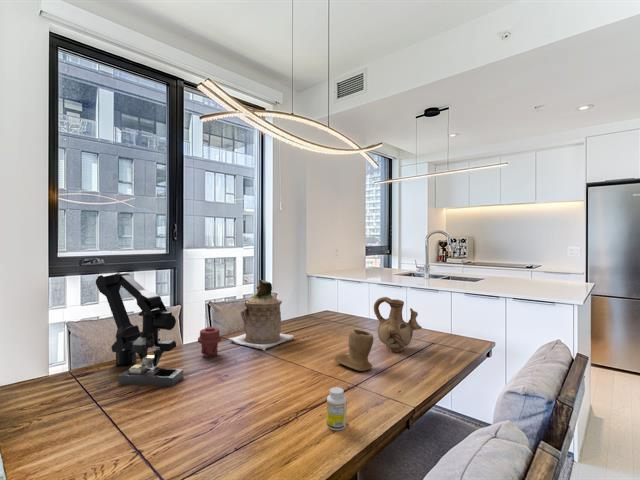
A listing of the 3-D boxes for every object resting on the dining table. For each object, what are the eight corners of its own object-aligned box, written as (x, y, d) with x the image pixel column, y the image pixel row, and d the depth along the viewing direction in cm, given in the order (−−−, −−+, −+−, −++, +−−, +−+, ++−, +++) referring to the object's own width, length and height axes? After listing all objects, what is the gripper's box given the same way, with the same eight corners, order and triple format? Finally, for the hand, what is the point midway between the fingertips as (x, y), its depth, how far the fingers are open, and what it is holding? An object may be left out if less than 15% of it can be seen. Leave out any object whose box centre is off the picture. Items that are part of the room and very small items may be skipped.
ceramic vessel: (392, 358, 152) (393, 302, 151) (366, 346, 168) (367, 295, 168) (422, 352, 160) (423, 299, 160) (394, 341, 177) (395, 293, 177)
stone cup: (379, 368, 141) (379, 331, 140) (359, 375, 133) (359, 337, 133) (352, 358, 152) (353, 324, 152) (332, 364, 144) (333, 328, 144)
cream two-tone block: (142, 370, 134) (142, 358, 134) (148, 366, 139) (148, 354, 139) (152, 371, 134) (152, 358, 134) (158, 367, 138) (158, 354, 138)
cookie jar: (295, 338, 180) (296, 278, 180) (264, 351, 159) (264, 283, 159) (260, 331, 193) (260, 274, 193) (227, 342, 172) (227, 279, 172)
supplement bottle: (334, 418, 101) (335, 384, 101) (350, 425, 97) (350, 389, 97) (322, 426, 97) (323, 390, 97) (338, 433, 93) (338, 396, 93)
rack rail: (118, 385, 122) (118, 375, 122) (132, 376, 130) (132, 367, 130) (172, 387, 120) (172, 377, 120) (183, 378, 128) (183, 369, 128)
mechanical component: (225, 352, 157) (214, 360, 147) (205, 351, 159) (193, 358, 149) (225, 325, 157) (214, 331, 147) (205, 324, 159) (193, 330, 149)
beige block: (129, 382, 123) (129, 368, 123) (136, 377, 128) (136, 363, 127) (140, 382, 123) (140, 368, 123) (147, 377, 127) (147, 364, 127)
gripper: (114, 332, 129) (114, 373, 129) (162, 333, 128) (162, 375, 128) (132, 324, 140) (132, 362, 140) (177, 326, 139) (176, 364, 139)
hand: (150, 366), depth 136 cm, fingers closed on cream two-tone block, 4 cm apart
